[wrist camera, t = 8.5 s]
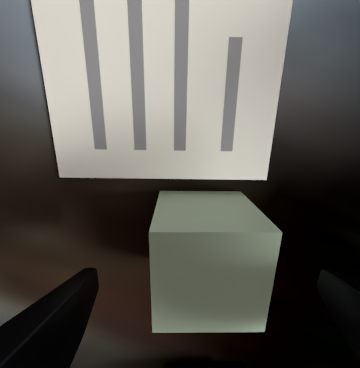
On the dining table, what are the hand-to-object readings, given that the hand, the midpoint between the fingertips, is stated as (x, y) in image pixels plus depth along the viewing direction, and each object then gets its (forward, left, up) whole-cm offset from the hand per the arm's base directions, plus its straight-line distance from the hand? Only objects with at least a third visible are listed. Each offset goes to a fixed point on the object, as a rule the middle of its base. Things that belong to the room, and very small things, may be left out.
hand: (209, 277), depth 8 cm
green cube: (0, 0, -4) cm, 4 cm away
